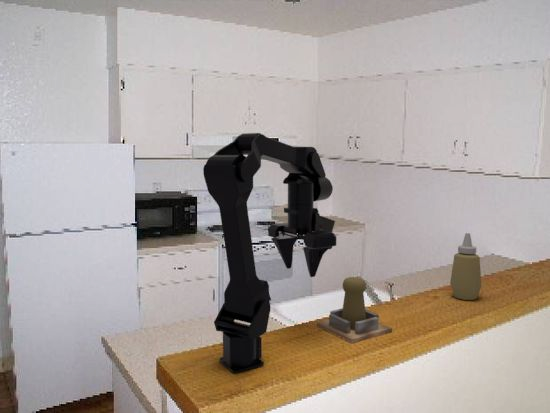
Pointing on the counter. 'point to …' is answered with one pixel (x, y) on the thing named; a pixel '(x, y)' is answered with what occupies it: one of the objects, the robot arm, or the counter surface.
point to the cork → (354, 300)
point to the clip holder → (362, 328)
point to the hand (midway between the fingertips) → (300, 272)
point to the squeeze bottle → (466, 271)
